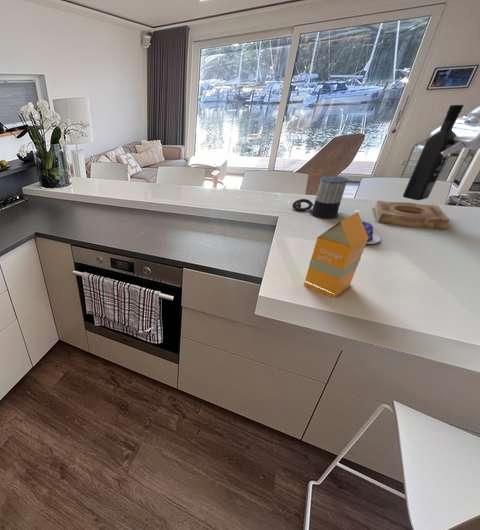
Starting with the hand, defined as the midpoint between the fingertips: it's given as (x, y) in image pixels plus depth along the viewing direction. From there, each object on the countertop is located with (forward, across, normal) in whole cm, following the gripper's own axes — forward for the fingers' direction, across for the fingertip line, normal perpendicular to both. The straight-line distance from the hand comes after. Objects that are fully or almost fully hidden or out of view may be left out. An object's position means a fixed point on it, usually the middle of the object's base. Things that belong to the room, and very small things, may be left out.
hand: (433, 152), depth 98 cm
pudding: (+33, +20, +1) cm, 38 cm away
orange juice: (+46, +51, -13) cm, 70 cm away
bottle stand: (+16, 0, +17) cm, 24 cm away
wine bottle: (+11, 0, +12) cm, 16 cm away
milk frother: (+38, -6, -4) cm, 38 cm away
